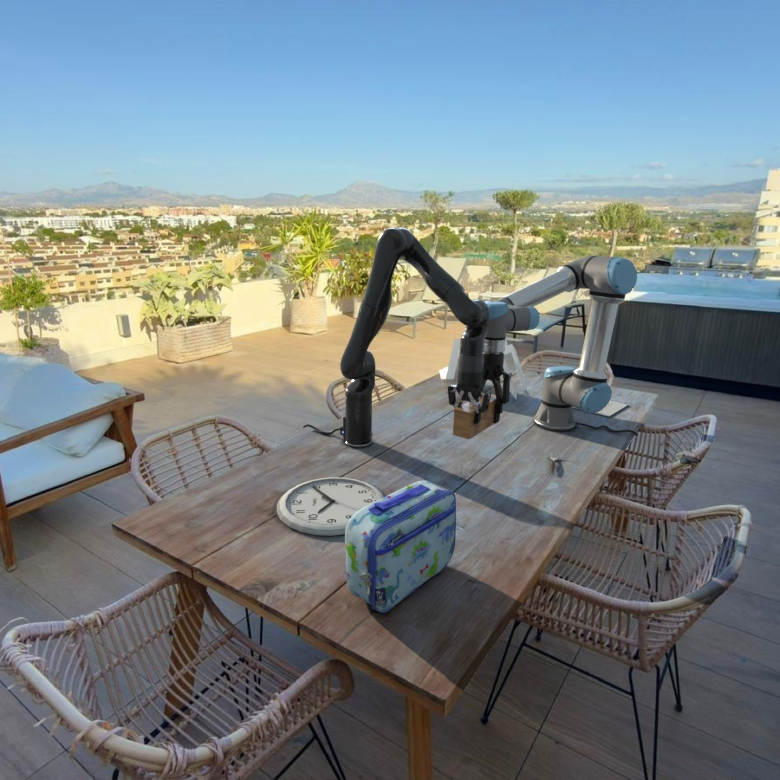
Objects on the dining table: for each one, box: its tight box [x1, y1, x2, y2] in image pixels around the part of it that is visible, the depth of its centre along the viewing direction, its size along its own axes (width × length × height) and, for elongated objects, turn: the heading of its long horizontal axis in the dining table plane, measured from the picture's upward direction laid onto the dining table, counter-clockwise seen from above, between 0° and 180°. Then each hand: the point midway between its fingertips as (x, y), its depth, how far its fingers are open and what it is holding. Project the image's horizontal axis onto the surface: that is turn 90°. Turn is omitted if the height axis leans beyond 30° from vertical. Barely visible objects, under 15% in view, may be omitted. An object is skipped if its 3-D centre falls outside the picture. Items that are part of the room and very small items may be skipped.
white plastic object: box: [438, 338, 531, 400], centre depth 245 cm, size 37×45×31 cm
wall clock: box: [276, 476, 386, 537], centre depth 142 cm, size 30×2×30 cm
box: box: [452, 393, 501, 440], centre depth 166 cm, size 21×6×8 cm, turn 143°
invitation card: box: [573, 400, 629, 418], centre depth 226 cm, size 21×1×15 cm
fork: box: [549, 449, 560, 474], centre depth 170 cm, size 3×16×2 cm, turn 160°
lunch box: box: [344, 480, 457, 614], centre depth 109 cm, size 26×11×21 cm, turn 135°
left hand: (467, 421), depth 160 cm, fingers closed on box, 5 cm apart
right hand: (487, 420), depth 172 cm, fingers closed on box, 6 cm apart
